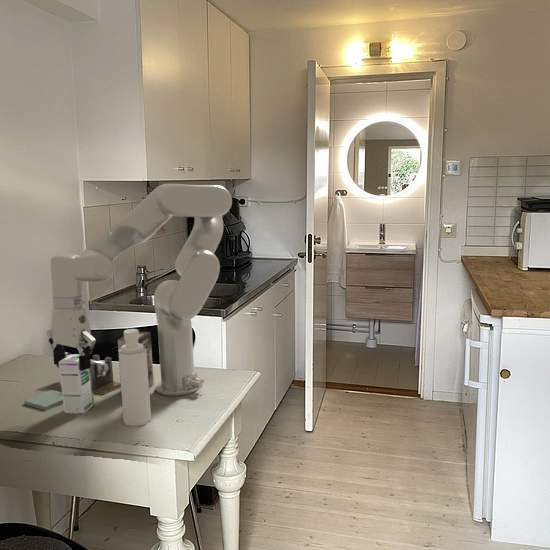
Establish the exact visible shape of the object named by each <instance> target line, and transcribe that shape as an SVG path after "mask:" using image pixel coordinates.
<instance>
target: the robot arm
mask: <svg viewBox="0 0 550 550" xmlns="http://www.w3.org/2000/svg"><path fill="white" fill-rule="evenodd" d="M232 205H233V198H232V195H231V193H230V192H229V190H228V189H227V188H225V187H224V186H222V185H218V184H215V185H214V184H184V183H183V184H181V183H163V184H160V185H159V186H157V187H155V188H154V189H153V190H151V192H150V193H149V194H147V196H146V197H145V198H144V199H143V200H141V201H140V203H138V204H137V205H136V206H135V207H133V209H132V210H131V211H130V212H128V213H127V214H126V215H125V217H123V218H122V219H120V220H118V221H117V222H116V223H115V224H114V225H113V226H111V227H110V228H109V229H107V230H106V231H105V232H103V233H102V234H100V235H99V236H98V237H97V238H96V239H95V240H94V241H93V242H92V243H90V245H88V246H87V247H86V248H85V250H83V252H81V254H80V255H79V254H75V253H61V254H55V255H53V256H52V257H51V258H50V263H49V264H50V277H51V278H50V279H51V280H50V281H51V295H52V313H51V328H50V329H48V330H46V335H47V339H48V342H49V344H50V345H51V347H50V348H51V350H52V353H53V354H52V355H53V364H54V365H55V366H56V365H57V364H59V361H61V360H63V359H64V358H65V352H66V350H65V347H71V348H75V349H77V350H78V354H81V355H80V356H79V369H80V371H83V370H86V369H89V368H90V367H91V361H90V360H91V354H92V352H93V350H94V349H95V345H96V341H97V339H96V338H95V337H94V336H93V335H92V332H91V323H90V317H89V313H88V309H87V307H86V306H85V297H84V282H89V283H102V282H106V281H108V280H110V279H111V278H112V277H113V276H114V275H115V270H116V264H115V262H114V261H115V259H117V258H118V257H119V256H120V255H121V254H123V253H124V252H126V251H127V250H129V249H131V248H132V247H133V248H134V247H136V246H139V245H141V244H143V243H145V242H147V241H149V240H150V239H151V238H152V237H153V235H155V234H156V233H157V231H158V232H159V230H160V229H161V228H162V227H163V226H164V225H165V224H166V223H167V222H168V221H169V220H170V219H171V218H172V217H182V218H183V217H186V218H190V217H191V218H194V224H193V227H192V230H191V232H190V234H189V236H188V238H187V240H186V241H185V244H184V245H183V246H182V249H181V250H180V252H179V253H178V256H177V257H176V260H175V263H174V267H175V271H176V274H178V275H179V276H180V277H179V280H177V279H176V280H175V279H167V280H165V281H163V282H161V283H160V284H158V285H157V287H156V289H155V291H154V295H153V302H154V303H153V304H154V305H153V307H154V310H155V316H156V325H157V336H158V350H159V352H158V353H159V354H158V355H159V364H160V365H159V367H160V369H159V370H160V381H159V382H158V383H156V386H155V390H156V392H157V393H159V394H161V395H163V396H164V395H165V396H173V397H174V396H176V397H177V396H185V395H189V394H193V393H194V392H196V391H197V390H199V389H202V388H203V385H204V383H205V379H203V378H198V372H195V364H194V363H195V362H194V346H193V344H194V342H193V327H192V319H194V318H195V317H196V316H197V315H198V314H199V313H200V312H201V310H202V308H203V307H204V305H205V303H206V301H207V299H208V298H209V296H210V293H211V292H212V290H213V288H214V286H215V285H216V282H217V280H218V278H219V276H220V275H219V274H220V272H221V271H220V270H221V265H220V261H219V258H218V257H217V256H216V254H215V252H216V250H217V248H218V246H219V244H220V242H221V241H222V237H223V233H224V220H223V216H224V215H225V214H227V213H228V212H229V211H230V209H231V208H232ZM63 346H65V347H63ZM83 347H84V348H83Z"/></svg>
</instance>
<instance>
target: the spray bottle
mask: <svg viewBox="0 0 550 550" xmlns="http://www.w3.org/2000/svg"><path fill="white" fill-rule="evenodd" d="M139 332H140V331H139V329H137V328H130V329H129V328H127V329H125V330H124V331H123V337H124V339H125V343H126V344H125V345H123V346H122V347H121V348H120V349H119V350H118V349H117V352H118V351H119V353H118V366H119V365H120V368H119V379H120V378H121V382H120V383H121V387H120V393H121V392H122V394H121V401H122V404H121V405H122V415H123V423H124V424H125V425H126V426H130V427H138V426H142V425H145V424H148V423H149V422H150V421H151V420H152V415H151V400H150V388H149V382H148V367H147V353H146V347H145V346H143V344H140V343H138V338H139Z"/></svg>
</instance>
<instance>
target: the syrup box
mask: <svg viewBox="0 0 550 550" xmlns="http://www.w3.org/2000/svg"><path fill="white" fill-rule="evenodd" d="M80 355H81V354H80V353H77V354H76V353H75V354H72V353H70V355H69V356H68V357H66V358H64V359H63V360H61V361H59V368H58V369H59V377H60V378H59V379H60V386H61V392H62V396H63V403H62V404H63V410H64V411H63V412H64V413H65V414H72V413H83V414H82V415H84V414H85V413H86V412H88V411H89V410H90V409H91V408H92V406H93V407H94V406H95V400H94V392H93V388H92V379H91V369H90V368H89V369H86V370H83V371H80V369H79V356H80Z"/></svg>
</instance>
